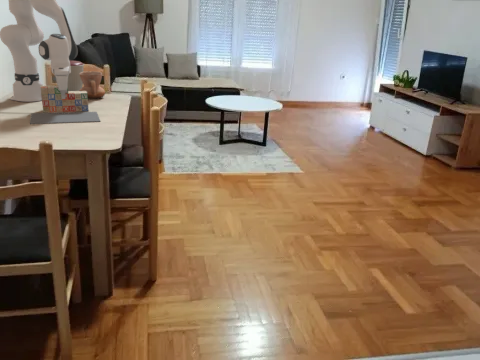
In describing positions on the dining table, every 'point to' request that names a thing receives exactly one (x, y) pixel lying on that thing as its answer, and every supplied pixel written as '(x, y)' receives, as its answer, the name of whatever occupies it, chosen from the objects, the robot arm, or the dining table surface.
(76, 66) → the canister
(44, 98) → the stack of blocks
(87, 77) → the ceramic jug
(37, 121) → the charcoal mat
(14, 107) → the dining table surface
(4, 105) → the dining table surface
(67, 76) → the robot arm
